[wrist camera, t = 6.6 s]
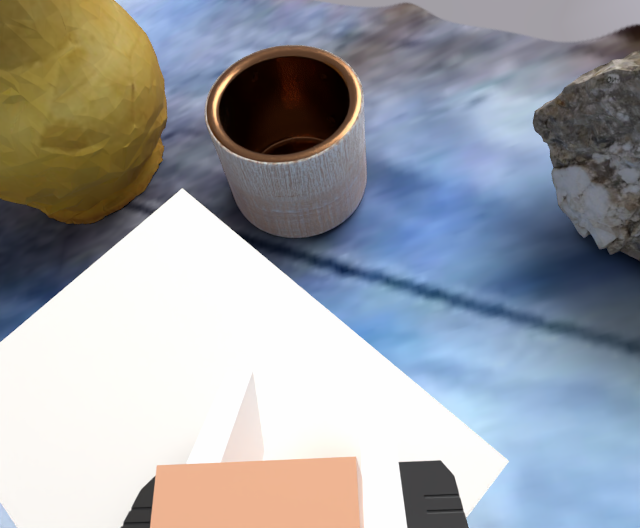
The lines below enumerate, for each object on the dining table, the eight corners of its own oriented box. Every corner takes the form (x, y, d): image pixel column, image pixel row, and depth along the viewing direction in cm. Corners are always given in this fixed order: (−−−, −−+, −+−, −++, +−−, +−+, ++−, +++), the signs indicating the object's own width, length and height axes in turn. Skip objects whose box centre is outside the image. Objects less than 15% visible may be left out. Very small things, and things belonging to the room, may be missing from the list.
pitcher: (-51, 201, 46) (-412, -129, 24) (91, 67, 53) (-82, -275, 31) (102, 283, 41) (-170, -32, 19) (234, 124, 49) (146, -230, 27)
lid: (503, 464, 16) (638, 381, 8) (231, 825, 13) (-48, 1358, 5) (188, 199, 22) (67, -15, 14) (-51, 404, 19) (-403, 294, 11)
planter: (348, 254, 40) (341, 178, 32) (216, 228, 42) (177, 150, 34) (379, 144, 45) (381, 52, 36) (259, 125, 47) (234, 34, 39)
